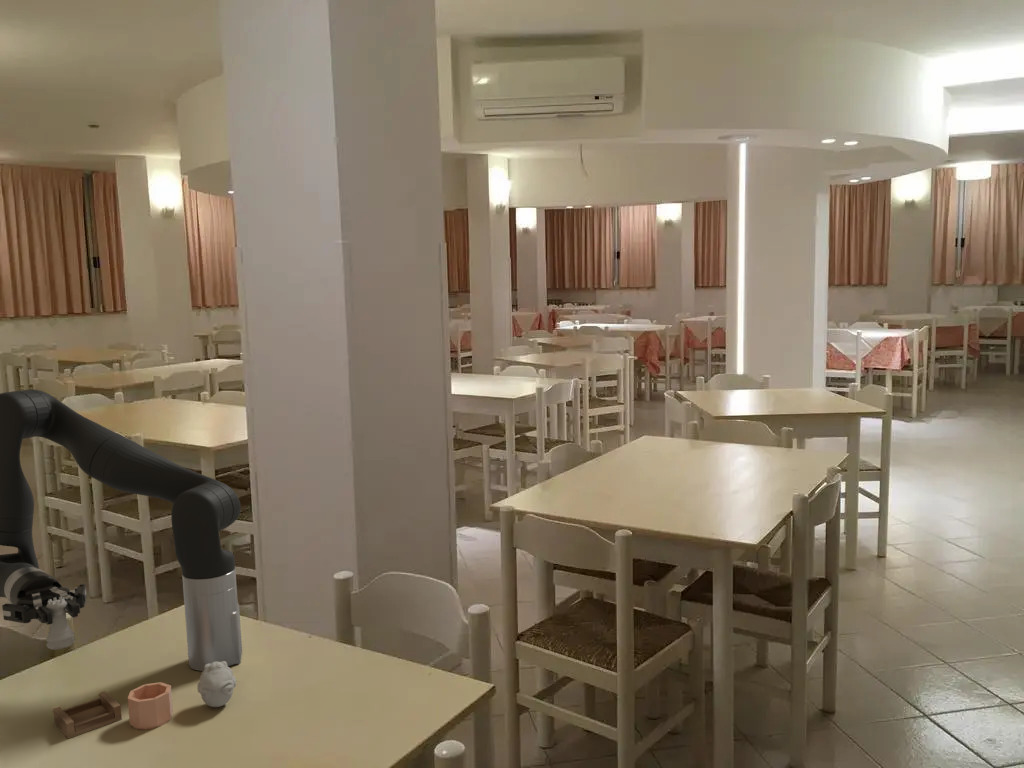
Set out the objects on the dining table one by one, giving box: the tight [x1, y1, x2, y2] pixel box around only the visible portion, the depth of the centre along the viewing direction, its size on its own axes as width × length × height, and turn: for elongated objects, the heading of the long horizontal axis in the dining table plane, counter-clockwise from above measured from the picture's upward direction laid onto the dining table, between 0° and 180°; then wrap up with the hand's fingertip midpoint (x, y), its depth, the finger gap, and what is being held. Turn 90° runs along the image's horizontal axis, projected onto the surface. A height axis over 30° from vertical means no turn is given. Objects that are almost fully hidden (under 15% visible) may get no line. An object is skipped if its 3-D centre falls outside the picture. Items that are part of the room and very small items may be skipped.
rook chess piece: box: [45, 597, 76, 651], centre depth 143 cm, size 4×4×8 cm
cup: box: [127, 681, 174, 730], centre depth 136 cm, size 6×6×5 cm
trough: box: [52, 691, 123, 739], centre depth 136 cm, size 7×8×2 cm
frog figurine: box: [197, 661, 237, 708], centre depth 140 cm, size 6×7×7 cm
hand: (62, 614), depth 141 cm, fingers closed on rook chess piece, 3 cm apart
